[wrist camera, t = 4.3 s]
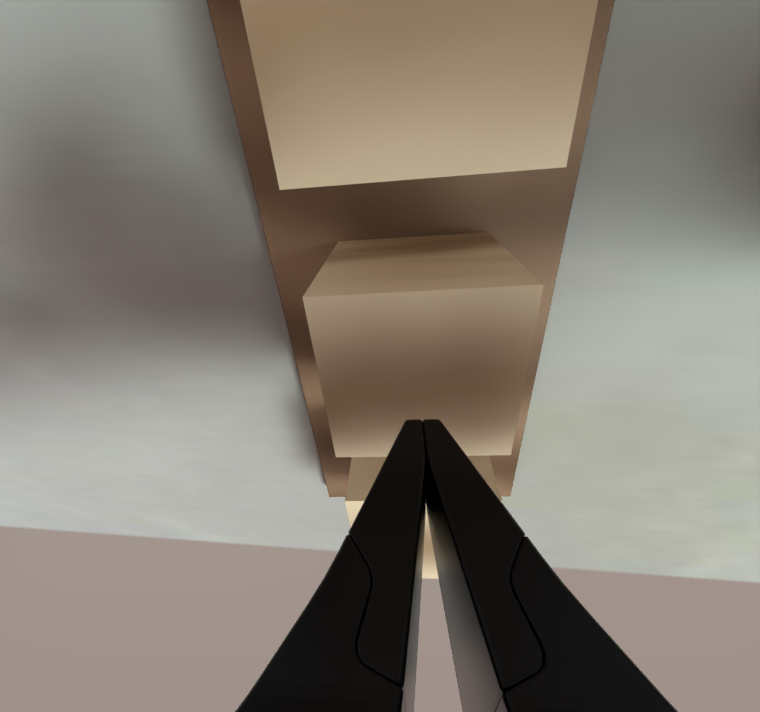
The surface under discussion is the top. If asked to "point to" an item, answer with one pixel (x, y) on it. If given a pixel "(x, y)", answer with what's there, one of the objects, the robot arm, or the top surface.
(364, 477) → the block four
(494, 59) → the block seven
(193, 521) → the top surface
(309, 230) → the walnut mat
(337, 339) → the plain block
